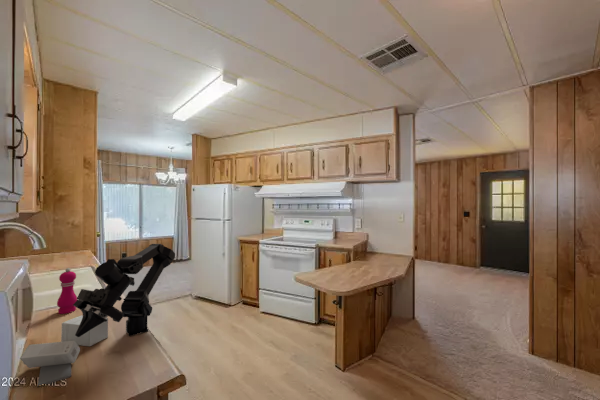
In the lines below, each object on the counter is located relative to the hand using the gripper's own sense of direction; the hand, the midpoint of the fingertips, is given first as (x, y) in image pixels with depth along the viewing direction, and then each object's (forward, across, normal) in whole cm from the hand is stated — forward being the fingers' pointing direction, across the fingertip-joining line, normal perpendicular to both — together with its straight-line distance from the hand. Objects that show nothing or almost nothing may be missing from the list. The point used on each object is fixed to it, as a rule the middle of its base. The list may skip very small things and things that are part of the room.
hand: (76, 336), depth 84 cm
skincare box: (+4, 0, +3) cm, 5 cm away
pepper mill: (-9, -53, +22) cm, 58 cm away
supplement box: (-2, -21, +10) cm, 23 cm away
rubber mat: (+8, -6, +4) cm, 11 cm away
